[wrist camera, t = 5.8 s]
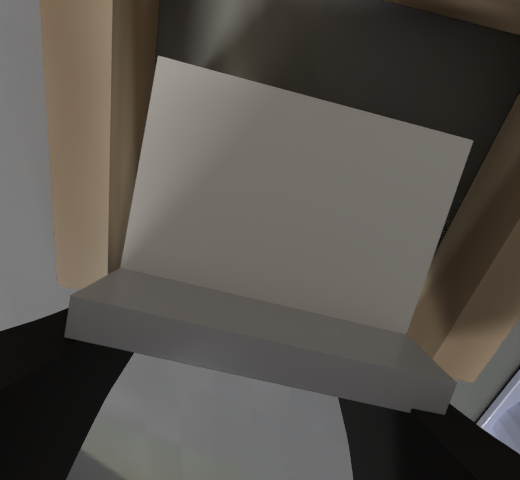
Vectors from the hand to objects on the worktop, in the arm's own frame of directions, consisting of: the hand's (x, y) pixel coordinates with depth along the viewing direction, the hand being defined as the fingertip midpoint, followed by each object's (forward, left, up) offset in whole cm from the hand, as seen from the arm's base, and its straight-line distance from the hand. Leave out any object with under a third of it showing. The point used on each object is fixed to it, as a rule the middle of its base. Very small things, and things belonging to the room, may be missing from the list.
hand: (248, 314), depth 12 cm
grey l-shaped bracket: (0, -4, -2) cm, 4 cm away
